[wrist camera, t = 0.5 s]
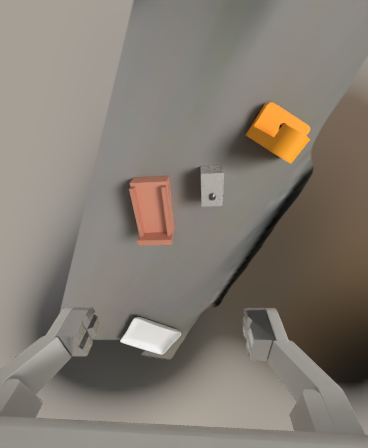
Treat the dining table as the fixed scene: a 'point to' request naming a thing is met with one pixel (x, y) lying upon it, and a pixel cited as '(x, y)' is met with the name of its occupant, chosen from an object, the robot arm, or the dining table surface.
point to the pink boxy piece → (153, 210)
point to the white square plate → (150, 335)
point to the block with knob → (212, 185)
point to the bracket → (279, 132)
